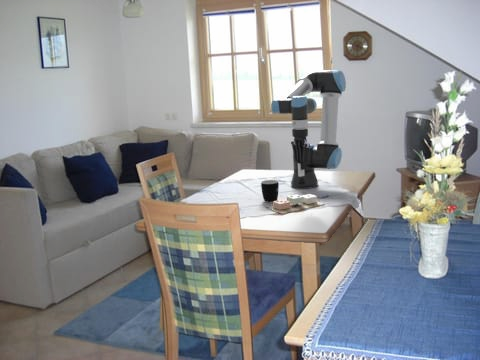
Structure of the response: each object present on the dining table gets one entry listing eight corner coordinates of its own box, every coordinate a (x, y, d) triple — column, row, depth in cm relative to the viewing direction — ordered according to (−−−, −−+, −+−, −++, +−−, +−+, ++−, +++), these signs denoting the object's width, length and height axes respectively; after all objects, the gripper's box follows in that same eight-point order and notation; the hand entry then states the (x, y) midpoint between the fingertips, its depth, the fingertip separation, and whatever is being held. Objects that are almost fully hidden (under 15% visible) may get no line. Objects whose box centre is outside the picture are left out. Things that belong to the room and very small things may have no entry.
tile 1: (310, 199, 286) (310, 193, 285) (317, 202, 281) (316, 195, 280) (300, 201, 283) (300, 195, 283) (307, 204, 278) (307, 197, 277)
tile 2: (297, 200, 282) (296, 193, 281) (303, 202, 277) (303, 196, 276) (286, 202, 279) (286, 196, 279) (293, 204, 274) (293, 198, 273)
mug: (279, 202, 287) (278, 183, 285) (262, 203, 287) (261, 184, 285) (278, 196, 299) (277, 178, 296) (261, 197, 299) (260, 178, 297)
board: (308, 199, 290) (308, 198, 290) (324, 204, 278) (324, 203, 278) (266, 207, 279) (266, 206, 279) (281, 214, 267) (281, 213, 267)
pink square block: (283, 205, 279) (283, 199, 278) (290, 207, 274) (290, 201, 273) (273, 207, 276) (273, 201, 275) (279, 210, 271) (279, 203, 270)
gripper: (285, 128, 275) (287, 175, 280) (301, 130, 264) (302, 179, 269) (298, 126, 279) (299, 172, 284) (314, 128, 268) (315, 176, 273)
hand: (301, 175), depth 277 cm, fingers closed
